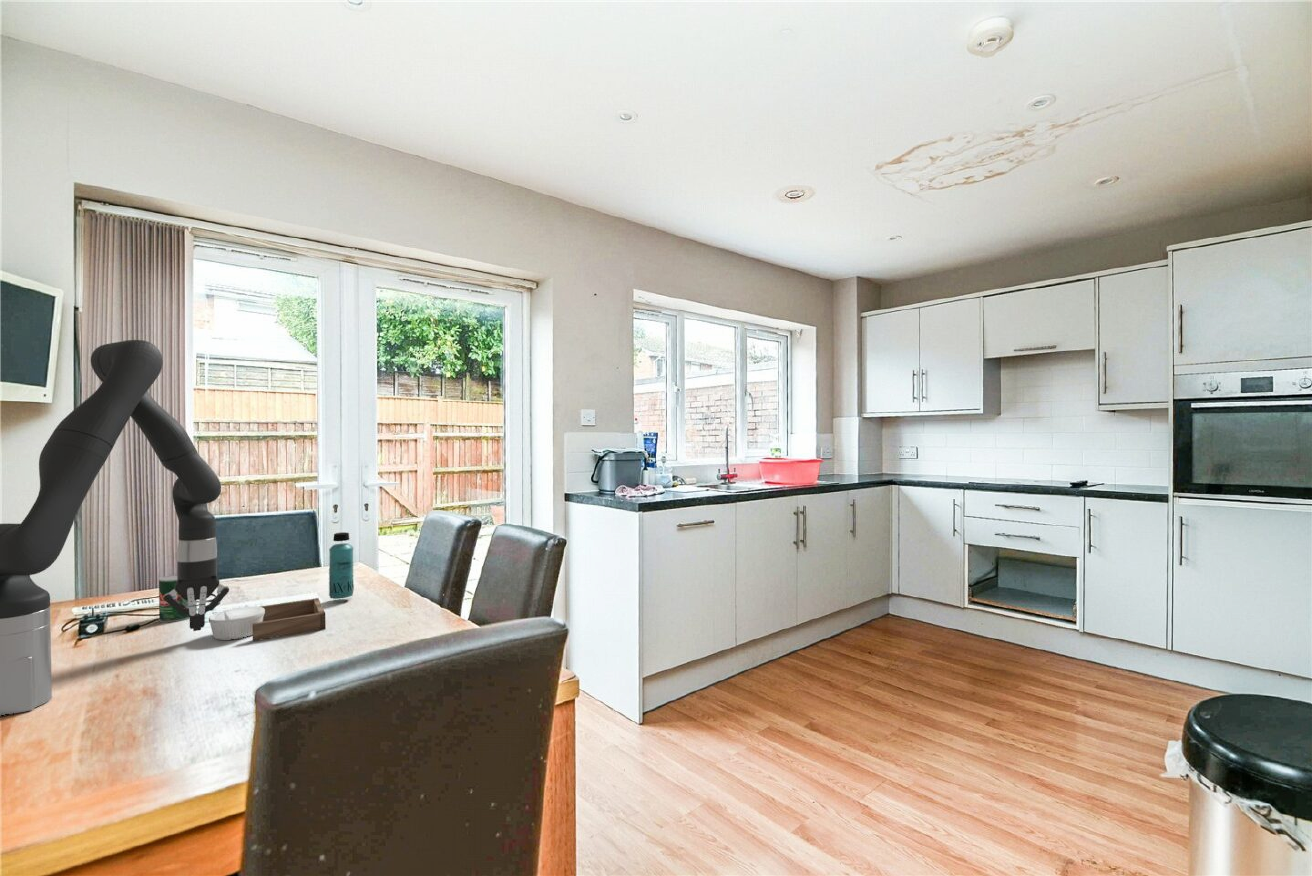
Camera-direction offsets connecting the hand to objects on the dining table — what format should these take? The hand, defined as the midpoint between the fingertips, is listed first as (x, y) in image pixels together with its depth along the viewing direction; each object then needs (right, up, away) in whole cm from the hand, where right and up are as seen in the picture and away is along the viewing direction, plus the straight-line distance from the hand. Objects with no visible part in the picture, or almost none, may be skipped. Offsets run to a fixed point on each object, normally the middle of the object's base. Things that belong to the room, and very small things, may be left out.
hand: (197, 629), depth 142 cm
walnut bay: (+15, -2, +10) cm, 18 cm away
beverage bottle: (+17, -2, +33) cm, 37 cm away
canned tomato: (-18, -3, +17) cm, 26 cm away
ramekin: (+6, -3, +4) cm, 8 cm away
